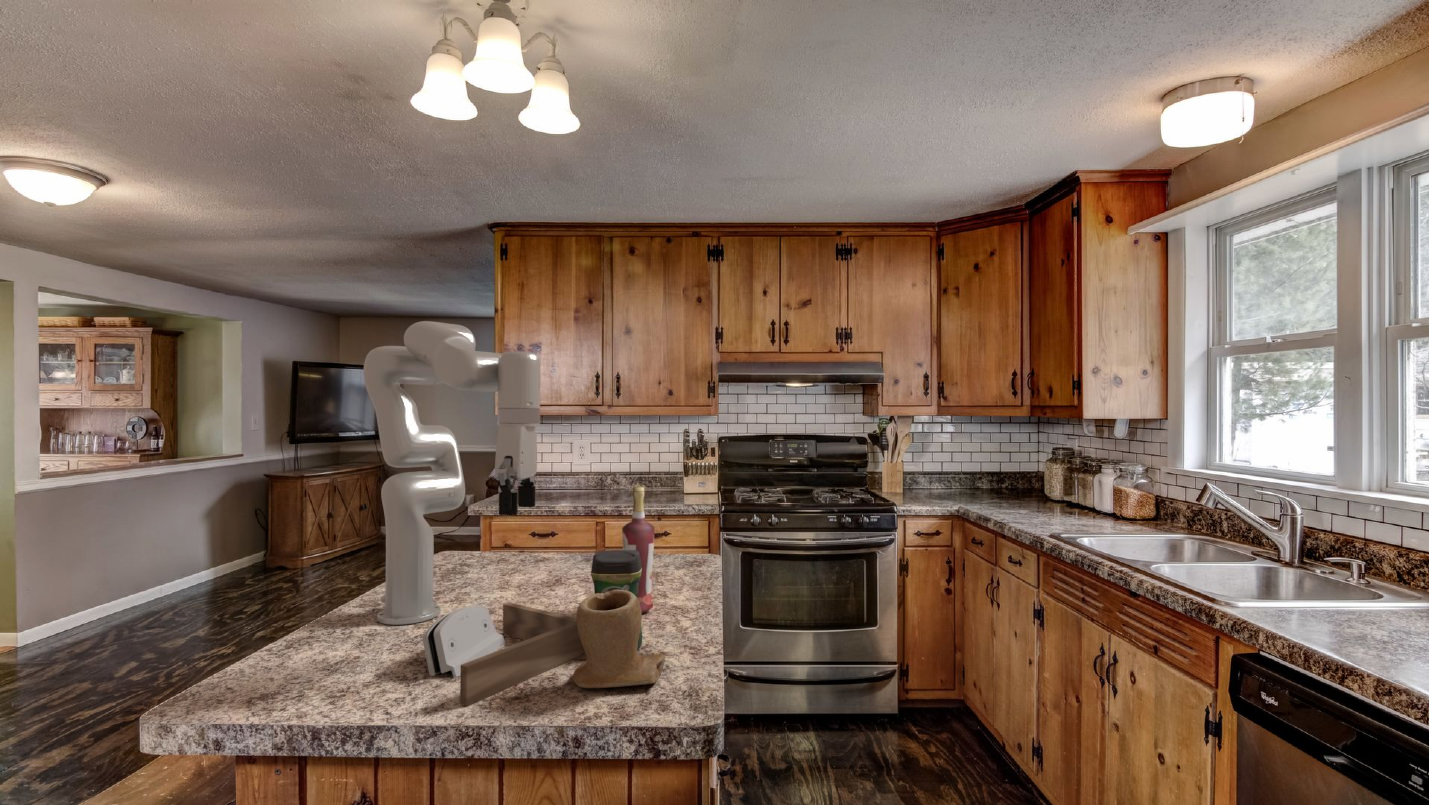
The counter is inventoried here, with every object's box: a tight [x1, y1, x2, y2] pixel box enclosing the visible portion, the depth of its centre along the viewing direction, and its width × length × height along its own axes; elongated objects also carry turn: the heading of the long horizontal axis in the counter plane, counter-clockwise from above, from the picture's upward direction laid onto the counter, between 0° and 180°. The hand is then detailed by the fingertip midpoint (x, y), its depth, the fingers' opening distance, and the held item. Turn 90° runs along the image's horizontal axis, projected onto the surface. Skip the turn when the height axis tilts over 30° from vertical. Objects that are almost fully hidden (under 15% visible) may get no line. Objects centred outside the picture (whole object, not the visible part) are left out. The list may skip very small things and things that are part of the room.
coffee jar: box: [590, 549, 643, 651], centre depth 122 cm, size 10×8×19 cm
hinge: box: [422, 605, 506, 678], centre depth 117 cm, size 17×5×10 cm, turn 168°
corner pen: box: [459, 602, 586, 708], centre depth 114 cm, size 22×26×6 cm
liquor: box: [621, 486, 656, 614], centre depth 145 cm, size 7×7×28 cm
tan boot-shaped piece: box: [572, 590, 666, 689], centre depth 106 cm, size 15×12×15 cm
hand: (517, 510), depth 119 cm, fingers open, 9 cm apart
